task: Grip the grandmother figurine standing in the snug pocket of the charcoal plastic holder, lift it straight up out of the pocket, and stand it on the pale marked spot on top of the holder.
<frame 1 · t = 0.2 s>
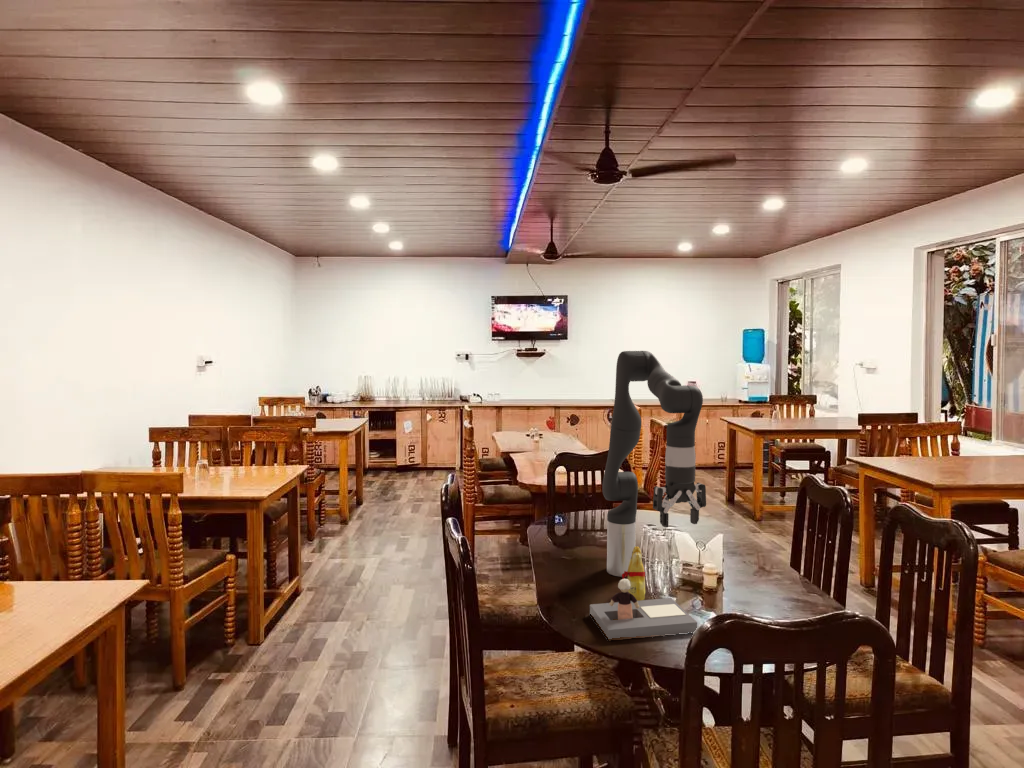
hand: (679, 525, 166), 28 cm above the table, tool pointing down, fingers open, 8 cm apart
grandmother figurine: (623, 626, 172), resting in pocket holder
pocket holder: (641, 623, 172), on the table
chocolate bunny: (633, 595, 192), on the table
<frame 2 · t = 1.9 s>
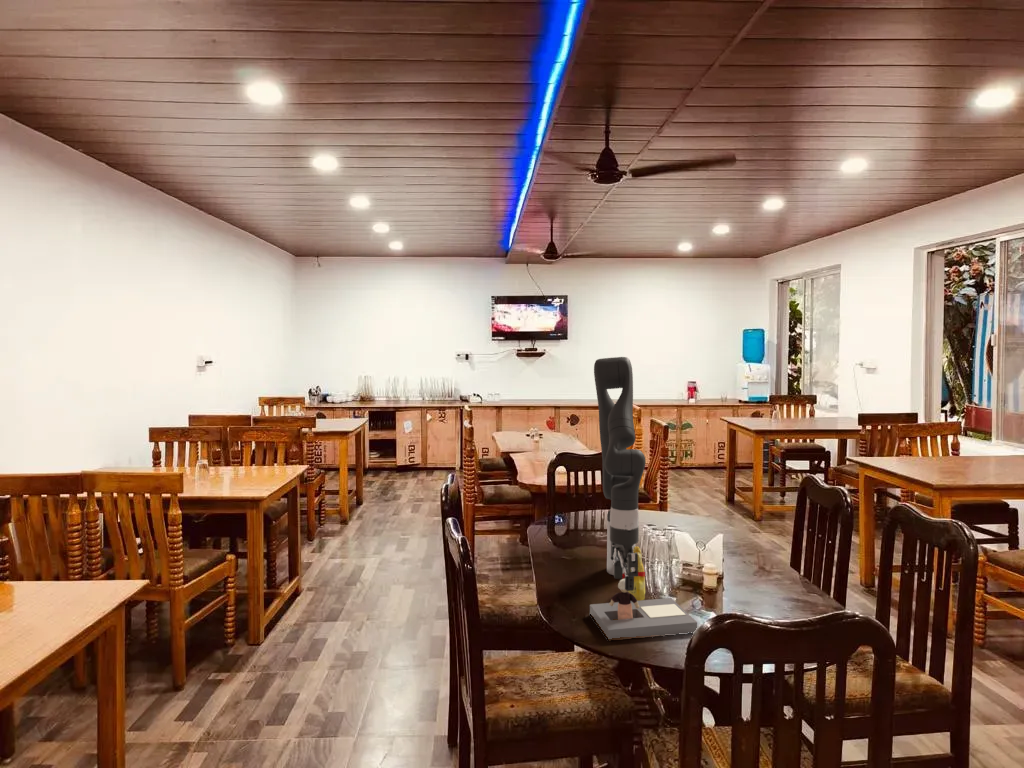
hand: (623, 584, 171), 11 cm above the table, tool pointing down, fingers open, 8 cm apart
nothing on the table moved.
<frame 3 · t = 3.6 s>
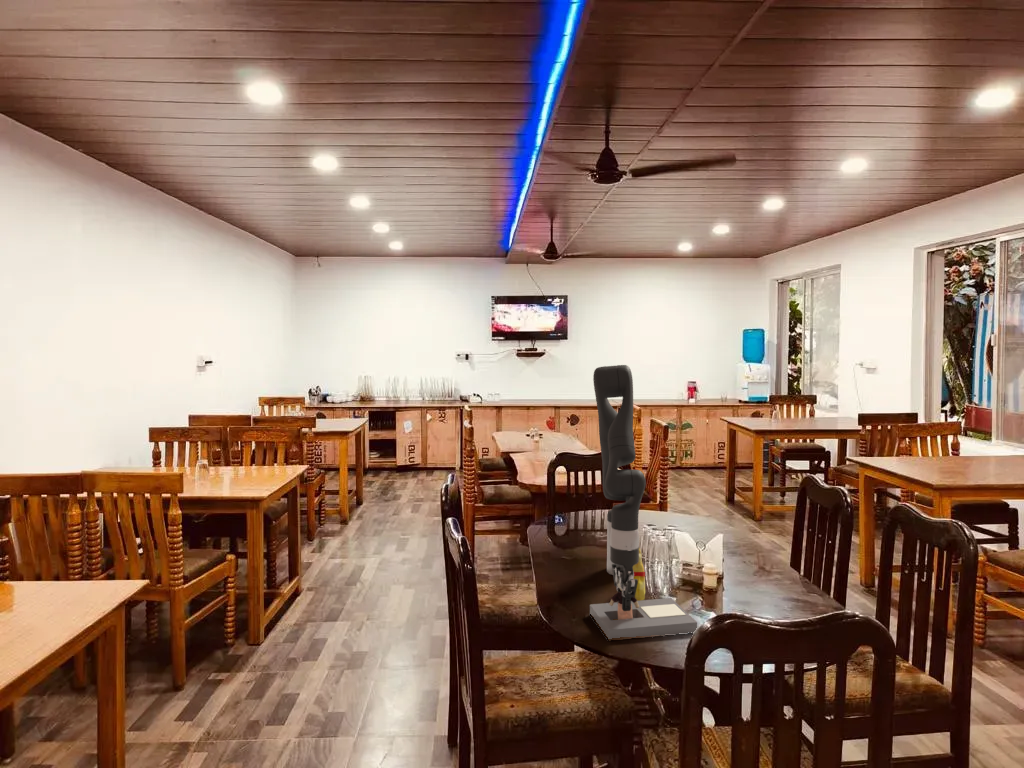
hand: (624, 607, 171), 5 cm above the table, tool pointing down, fingers closed on grandmother figurine, 2 cm apart
grandmother figurine: (623, 626, 172), resting in pocket holder, touching gripper
everything else where it was.
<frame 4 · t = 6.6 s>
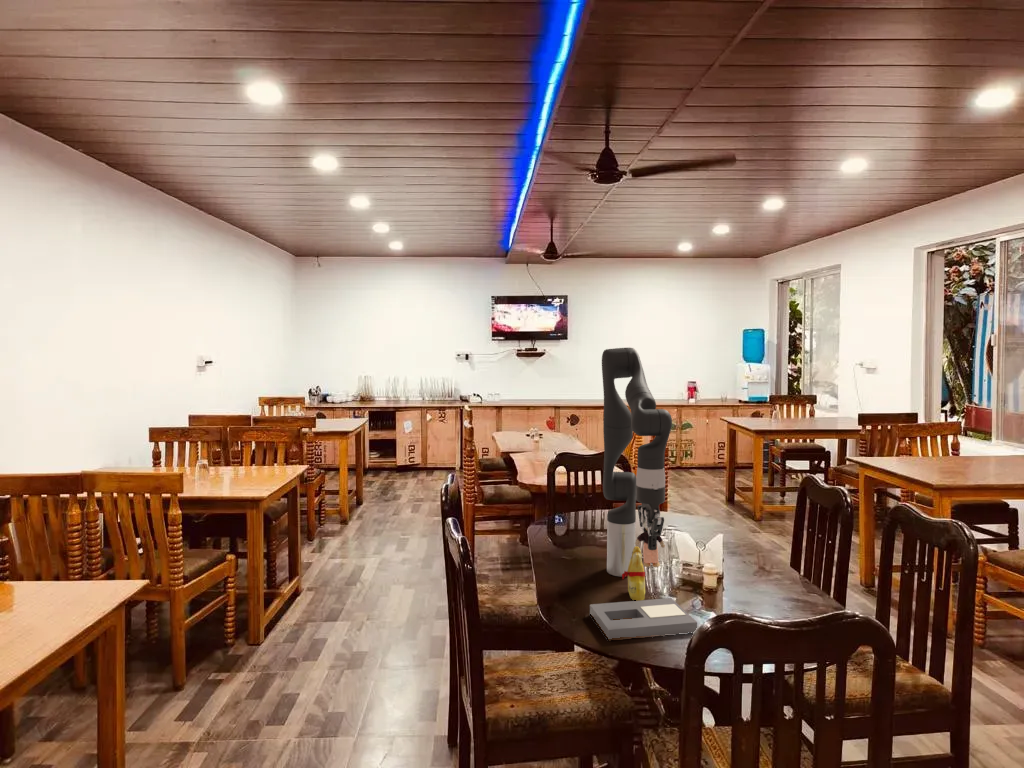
hand: (649, 547, 172), 21 cm above the table, tool pointing down, fingers closed on grandmother figurine, 2 cm apart
grandmother figurine: (649, 566, 172), point 16 cm above the table, touching gripper
everything else where it was.
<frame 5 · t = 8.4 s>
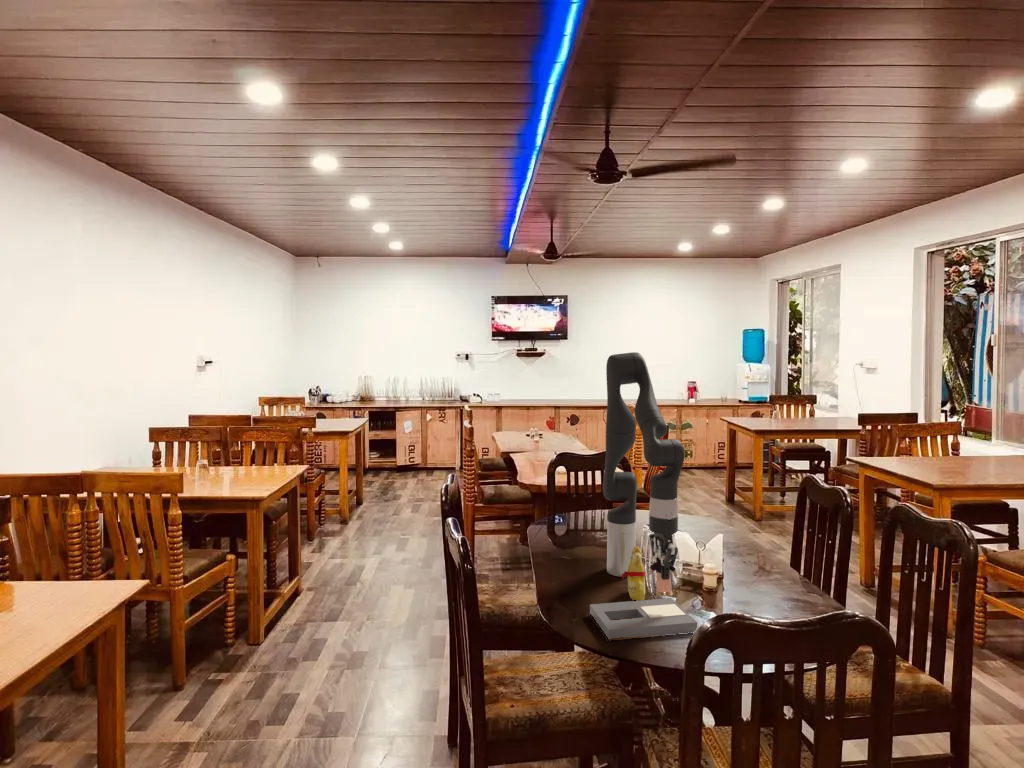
hand: (662, 576, 173), 13 cm above the table, tool pointing down, fingers closed on grandmother figurine, 2 cm apart
grandmother figurine: (662, 595, 173), point 7 cm above the table, touching gripper
everything else where it was.
when the fingers open (9 cm above the table, at t = 9.7 s): grandmother figurine drops 1 cm, resting on pocket holder.
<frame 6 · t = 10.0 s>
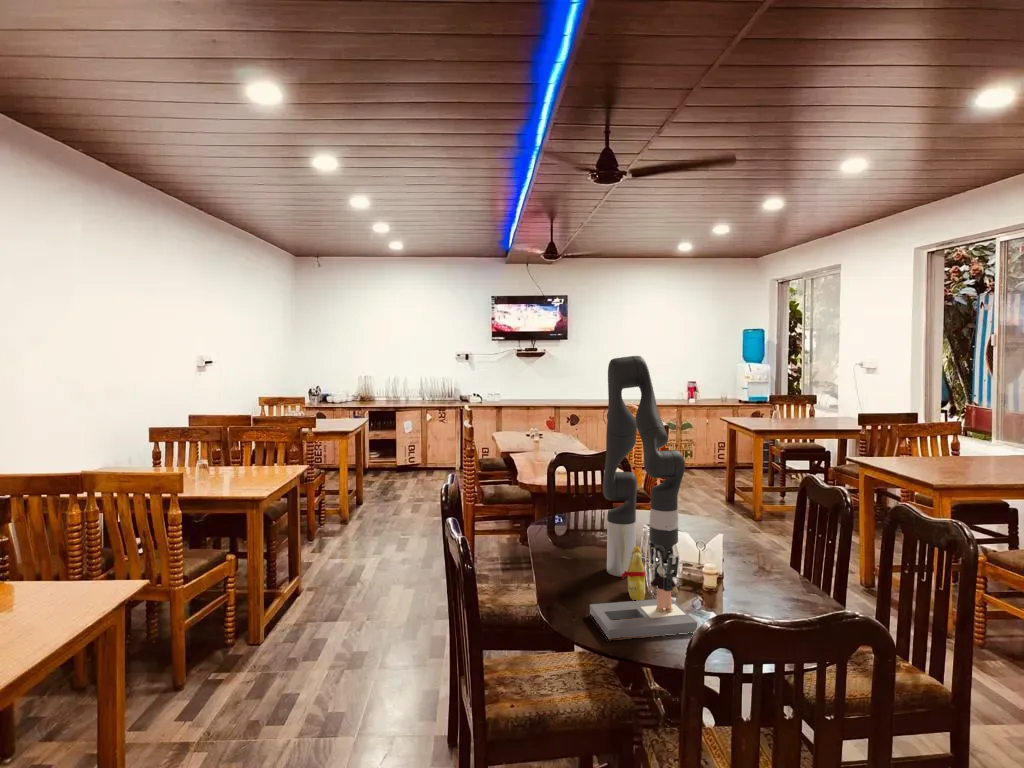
hand: (663, 586, 173), 10 cm above the table, tool pointing down, fingers open, 5 cm apart
grandmother figurine: (662, 611, 173), point 3 cm above the table, touching pocket holder
everything else where it was.
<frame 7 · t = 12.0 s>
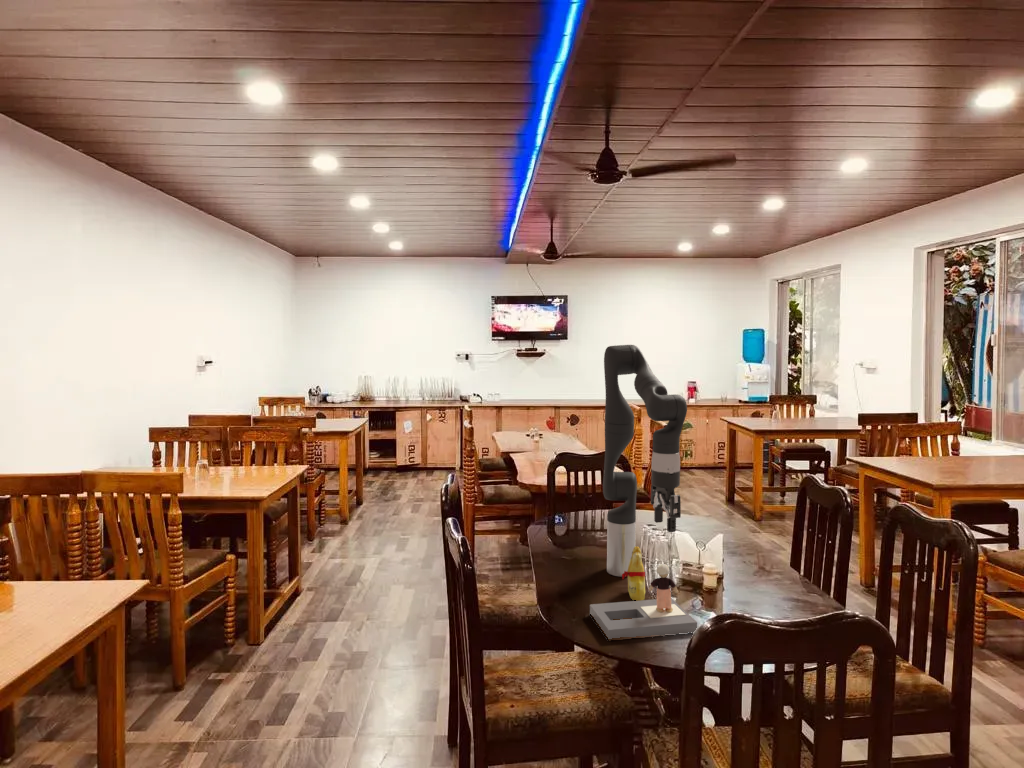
hand: (664, 526, 175), 25 cm above the table, tool pointing down, fingers open, 8 cm apart
nothing on the table moved.
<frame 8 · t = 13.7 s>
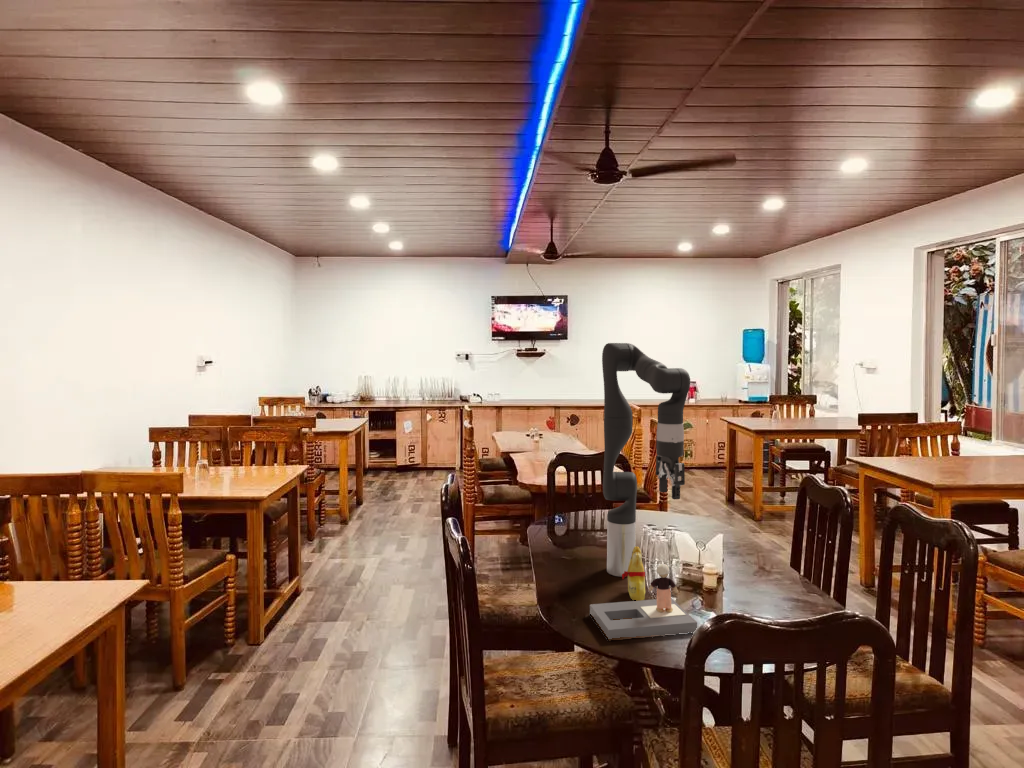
hand: (669, 495, 182), 32 cm above the table, tool pointing down, fingers open, 8 cm apart
nothing on the table moved.
at the end: grandmother figurine 0.1 cm from the target spot on the pocket holder, point 3.0 cm above the pocket holder's base; grandmother figurine tilted 0°; the gripper is holding nothing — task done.
